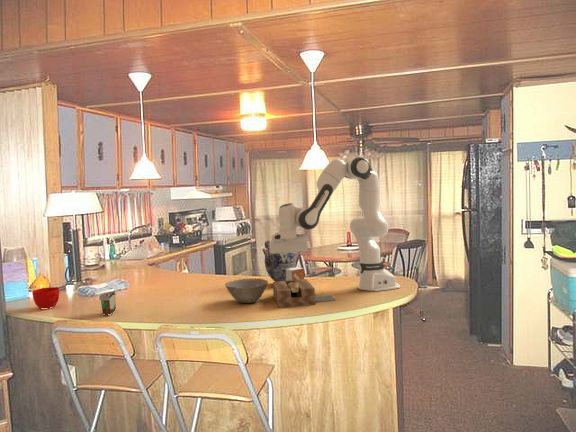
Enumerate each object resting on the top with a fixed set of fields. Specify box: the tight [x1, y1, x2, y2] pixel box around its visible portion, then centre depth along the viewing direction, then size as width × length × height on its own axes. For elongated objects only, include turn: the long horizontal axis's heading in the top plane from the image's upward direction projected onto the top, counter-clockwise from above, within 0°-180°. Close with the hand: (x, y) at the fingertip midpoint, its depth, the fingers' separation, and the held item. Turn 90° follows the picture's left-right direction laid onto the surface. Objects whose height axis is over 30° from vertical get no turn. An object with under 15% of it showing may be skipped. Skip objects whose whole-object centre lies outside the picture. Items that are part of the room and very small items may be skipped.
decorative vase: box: [264, 239, 297, 282], centre depth 293 cm, size 21×19×28 cm
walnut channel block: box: [272, 278, 316, 309], centre depth 252 cm, size 18×24×8 cm
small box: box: [286, 266, 305, 281], centre depth 272 cm, size 8×6×13 cm
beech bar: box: [288, 282, 299, 291], centre depth 250 cm, size 4×10×4 cm, turn 7°
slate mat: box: [315, 294, 336, 303], centre depth 252 cm, size 10×10×1 cm
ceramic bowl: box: [224, 277, 269, 304], centre depth 255 cm, size 22×23×10 cm
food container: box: [98, 290, 117, 315], centre depth 246 cm, size 12×6×10 cm, turn 5°
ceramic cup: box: [32, 286, 60, 309], centre depth 265 cm, size 13×17×10 cm
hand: (289, 261), depth 259 cm, fingers open, 4 cm apart
